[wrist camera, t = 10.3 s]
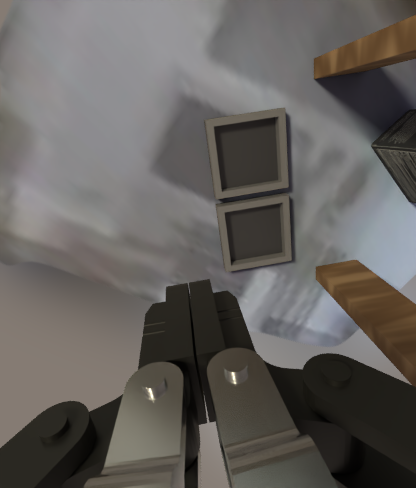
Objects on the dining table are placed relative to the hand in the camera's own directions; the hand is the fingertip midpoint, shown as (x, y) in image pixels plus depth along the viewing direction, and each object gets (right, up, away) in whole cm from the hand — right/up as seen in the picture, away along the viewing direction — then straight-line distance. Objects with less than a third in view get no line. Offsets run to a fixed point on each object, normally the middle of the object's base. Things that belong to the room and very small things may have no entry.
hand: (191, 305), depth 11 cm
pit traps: (+6, +8, +28) cm, 30 cm away
